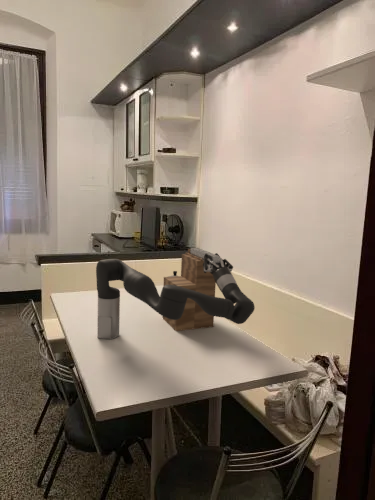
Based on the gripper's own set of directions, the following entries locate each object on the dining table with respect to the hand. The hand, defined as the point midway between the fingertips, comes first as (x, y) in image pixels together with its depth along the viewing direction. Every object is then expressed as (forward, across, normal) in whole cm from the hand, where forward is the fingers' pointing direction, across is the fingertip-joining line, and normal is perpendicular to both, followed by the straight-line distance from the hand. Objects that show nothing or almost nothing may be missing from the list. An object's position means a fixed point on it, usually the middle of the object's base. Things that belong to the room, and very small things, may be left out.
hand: (210, 255), depth 174 cm
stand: (-7, +5, +36) cm, 37 cm away
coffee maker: (+20, -2, +53) cm, 56 cm away
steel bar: (+4, 0, +6) cm, 7 cm away
